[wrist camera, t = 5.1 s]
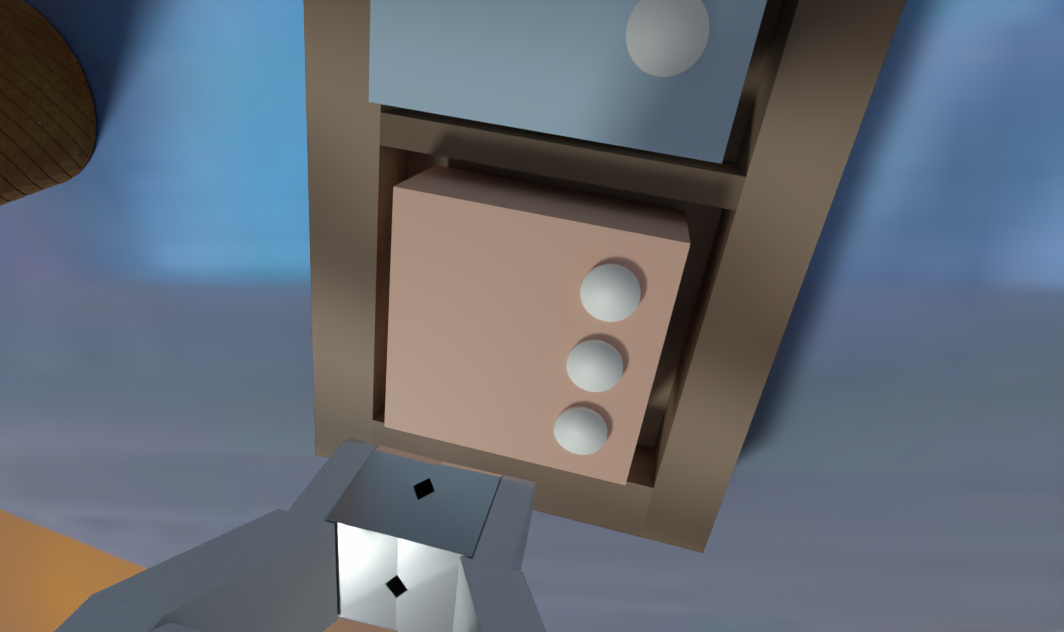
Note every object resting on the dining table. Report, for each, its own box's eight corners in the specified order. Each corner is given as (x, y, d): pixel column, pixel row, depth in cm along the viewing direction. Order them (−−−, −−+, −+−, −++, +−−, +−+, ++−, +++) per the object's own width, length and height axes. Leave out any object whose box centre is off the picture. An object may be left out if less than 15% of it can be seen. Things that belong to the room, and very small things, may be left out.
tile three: (436, 165, 16) (389, 188, 14) (684, 211, 16) (691, 246, 13) (422, 375, 20) (381, 430, 17) (630, 423, 19) (625, 489, 16)
